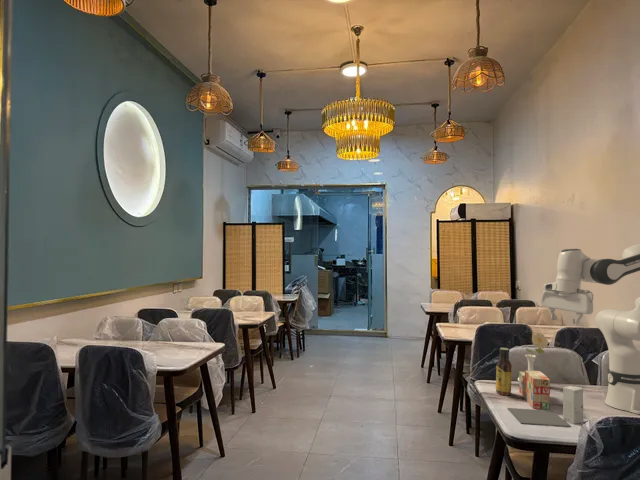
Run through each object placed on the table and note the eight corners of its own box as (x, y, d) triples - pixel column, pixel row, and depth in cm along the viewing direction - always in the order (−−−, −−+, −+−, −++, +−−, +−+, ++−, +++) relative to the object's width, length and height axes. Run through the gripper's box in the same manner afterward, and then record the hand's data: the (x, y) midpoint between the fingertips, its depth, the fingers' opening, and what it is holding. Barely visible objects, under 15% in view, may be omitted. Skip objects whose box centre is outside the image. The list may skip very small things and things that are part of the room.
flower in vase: (520, 387, 196) (521, 333, 197) (514, 380, 207) (515, 329, 208) (551, 390, 193) (551, 335, 194) (543, 382, 204) (544, 330, 205)
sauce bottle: (494, 390, 189) (494, 346, 190) (509, 392, 188) (509, 347, 189) (497, 395, 183) (498, 349, 184) (513, 396, 182) (513, 350, 183)
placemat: (552, 411, 165) (552, 410, 165) (571, 427, 150) (571, 425, 150) (507, 408, 167) (507, 407, 167) (521, 423, 152) (521, 422, 152)
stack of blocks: (518, 392, 189) (518, 364, 189) (533, 393, 187) (534, 365, 188) (533, 409, 168) (533, 377, 168) (550, 410, 166) (550, 379, 167)
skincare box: (574, 424, 152) (574, 390, 153) (562, 420, 156) (562, 387, 157) (584, 421, 155) (584, 388, 156) (571, 417, 159) (571, 385, 160)
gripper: (598, 291, 164) (595, 327, 163) (549, 285, 182) (546, 317, 181) (588, 290, 161) (585, 326, 160) (540, 284, 179) (536, 317, 179)
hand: (564, 321), depth 171 cm, fingers open, 8 cm apart
